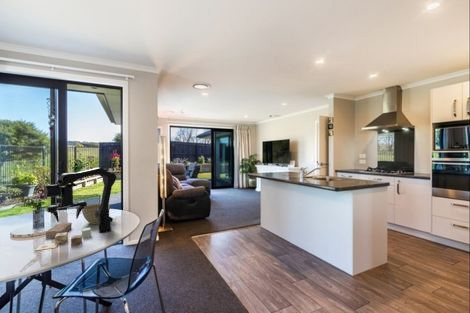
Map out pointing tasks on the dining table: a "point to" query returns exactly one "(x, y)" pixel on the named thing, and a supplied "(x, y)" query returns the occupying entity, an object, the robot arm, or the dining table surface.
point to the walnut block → (76, 240)
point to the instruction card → (47, 246)
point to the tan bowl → (91, 213)
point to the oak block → (61, 237)
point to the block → (86, 232)
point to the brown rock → (58, 229)
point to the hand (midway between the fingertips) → (67, 220)
